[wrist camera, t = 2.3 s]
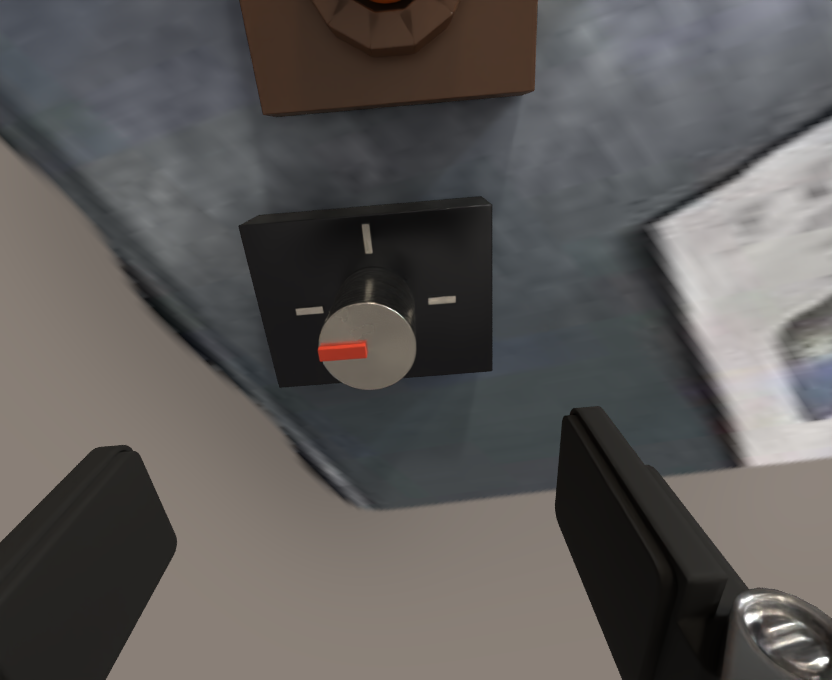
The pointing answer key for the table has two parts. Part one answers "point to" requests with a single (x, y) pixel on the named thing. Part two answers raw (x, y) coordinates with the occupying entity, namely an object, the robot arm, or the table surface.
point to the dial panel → (383, 248)
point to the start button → (385, 1)
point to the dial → (370, 330)
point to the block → (388, 52)
